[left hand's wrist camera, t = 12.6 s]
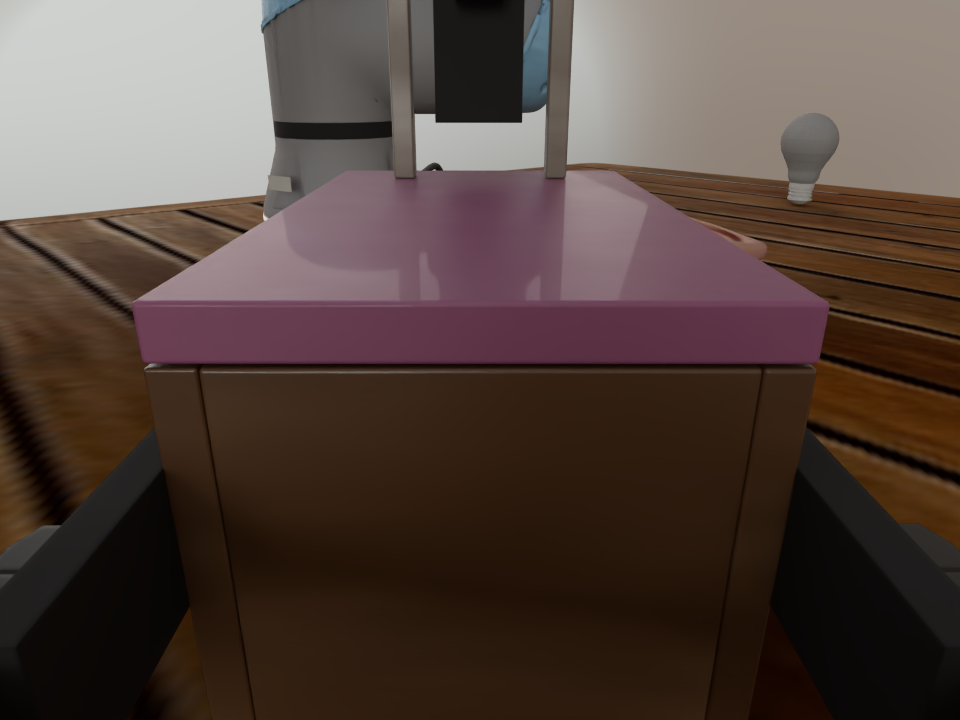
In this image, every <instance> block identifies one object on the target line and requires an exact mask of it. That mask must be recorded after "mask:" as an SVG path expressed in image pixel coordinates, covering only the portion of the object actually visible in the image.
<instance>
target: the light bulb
mask: <svg viewBox="0 0 960 720" xmlns="http://www.w3.org/2000/svg"><path fill="white" fill-rule="evenodd" d="M838 143H839V132H838V129H837V127H836V125H835V124H834V122H833V121H832V120H831V119H830V118H829V117H827V116H825V115H822V114H818V113H810V114H805V115H802V116H800V117H798V118H796V119H795V120H793V121H792V122H791V123H790V124H789V125H788V126H787V128H786V129H785V131H784V133H783V135H782V137H781V151H782V153H783V156H784V159H785V161H786V164H787V167H788V178H789V181H790V185H789V187H790V189H789V190H790V192H788V194H790V195H788V197H787V199H788V200H790V201H792V202H793V203H795V204H804V203H806V202H809V201H811V200H812V198H811V196H812V195H811V193H813V192H812V189H814V185H815V182H816V181H817V180H818V178H819V175H820V172H821V170H822V168H823V167H824V165H825V164H826V163H827V162H828V160H829V159H830V158H831V156H832V155H833V154H834V152H835V151H836V148H837V146H838Z"/></svg>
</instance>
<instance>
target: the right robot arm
mask: <svg viewBox="0 0 960 720" xmlns="http://www.w3.org/2000/svg"><path fill="white" fill-rule="evenodd" d="M549 10H550V0H411V21H412V52H413V83H414V113H415V114H435V117H436V123H522V113H529V112H535V111H537V110H539V109H541V108H542V107H543V106H544V105H545V104H546V98H547V69H548V40H549ZM262 16H263V21H262V24H261V31H262V33H263V34H264V42H265V51H266V60H267V69H268V78H269V87H270V96H271V105H272V114H273V122H274V132H275V143H276V147H275V154H274V159H273V164H272V169H271V174H270V175H268V180H269V183H268V188H267V193H266V198H265V203H264V213H263V217H264V221H266V220H267V219H269V218H271V217H272V216H274V215H275V214H277V213H279V212H280V211H282V210H284V209H285V208H287V207H288V206H290V205H292V204H293V203H295V202H297V201H298V200H300V199H302V198H303V197H305V196H306V195H308V194H310V193H311V192H313V191H315V190H316V189H318V188H319V187H321V186H323V185H324V184H326V183H328V182H329V181H331V180H332V179H334V178H336V177H337V176H339V175H341V174H342V173H344V172H346V171H394V157H393V134H392V111H391V89H390V66H389V43H388V21H387V0H262ZM434 169H436V171H443V169H442V168H441V166H440V165H439V164H437V163H432V164H430V165H428V166H427V167H426V168H424V169H423V170H422V171H432V170H434Z"/></svg>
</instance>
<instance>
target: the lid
mask: <svg viewBox="0 0 960 720" xmlns="http://www.w3.org/2000/svg"><path fill="white" fill-rule="evenodd" d="M573 11H574V0H550V10H549V40H548V69H547V98H546V128H545V157H544V171H416V144H415V113H414V83H413V52H412V21H411V0H387V21H388V43H389V66H390V89H391V111H392V134H393V157H394V171H346V172H344V173H342V174H341V175H339V176H337V177H336V178H334V179H332V180H331V181H329V182H328V183H326V184H324V185H323V186H321V187H319V188H318V189H316V190H315V191H313V192H311V193H310V194H308V195H306V196H305V197H303V198H302V199H300V200H298V201H297V202H295V203H293V204H292V205H290V206H288V207H287V208H285V209H284V210H282V211H280V212H279V213H277V214H275V215H274V216H272V217H271V218H269V219H267V220H266V221H264V222H262V223H261V224H259V225H258V226H256V227H254V228H253V229H251V230H249V231H248V232H246V233H245V234H243V235H241V236H240V237H238V238H236V239H235V240H233V241H231V242H230V243H228V244H227V245H225V246H223V247H222V248H220V249H218V250H217V251H215V252H214V253H212V254H210V255H209V256H207V257H205V258H204V259H202V260H201V261H199V262H197V263H196V264H194V265H192V266H191V267H189V268H187V269H186V270H184V271H183V272H181V273H179V274H178V275H176V276H174V277H173V278H171V279H170V280H168V281H166V282H165V283H163V284H161V285H160V286H158V287H157V288H155V289H153V290H152V291H150V292H148V293H147V294H145V295H143V296H142V297H140V298H139V299H137V300H135V301H134V302H133V303H132V310H133V315H134V320H135V325H136V330H137V335H138V340H139V346H140V351H141V356H142V360H143V362H144V363H147V364H816V363H818V361H819V357H820V352H821V347H822V342H823V337H824V332H825V327H826V322H827V317H828V311H829V303H828V302H827V301H825V300H824V299H822V298H820V297H819V296H817V295H816V294H814V293H812V292H811V291H809V290H807V289H806V288H804V287H802V286H801V285H799V284H798V283H796V282H794V281H793V280H791V279H789V278H788V277H786V276H784V275H783V274H781V273H780V272H778V271H776V270H775V269H773V268H771V267H770V266H768V265H767V264H765V263H763V262H762V261H760V260H758V259H757V258H755V257H753V256H752V255H750V254H749V253H747V252H745V251H744V250H742V249H740V248H739V247H737V246H735V245H734V244H732V243H731V242H729V241H727V240H726V239H724V238H722V237H721V236H719V235H717V234H716V233H714V232H713V231H711V230H709V229H708V228H706V227H704V226H703V225H701V224H700V223H698V222H696V221H695V220H693V219H691V218H690V217H688V216H686V215H685V214H683V213H682V212H680V211H678V210H677V209H675V208H673V207H672V206H670V205H668V204H667V203H665V202H664V201H662V200H660V199H659V198H657V197H655V196H654V195H652V194H650V193H649V192H647V191H646V190H644V189H642V188H641V187H639V186H637V185H636V184H634V183H633V182H631V181H629V180H628V179H626V178H624V177H623V176H621V175H619V174H618V173H616V172H615V171H566V165H567V143H568V121H569V99H570V77H571V56H572V34H573Z"/></svg>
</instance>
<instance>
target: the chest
mask: <svg viewBox="0 0 960 720" xmlns="http://www.w3.org/2000/svg"><path fill="white" fill-rule="evenodd" d="M144 375H145V380H146V385H147V390H148V395H149V401H150V406H151V411H152V416H153V421H154V426H155V431H156V436H157V441H158V447H159V452H160V457H161V462H162V467H163V470H164V475H165V480H166V485H167V490H168V495H169V500H170V505H171V511H172V516H173V521H174V526H175V531H176V536H177V541H178V546H179V551H180V556H181V561H182V567H183V572H184V577H185V582H186V587H187V592H188V597H189V602H190V610H191V615H192V620H193V625H194V630H195V635H196V640H197V645H198V651H199V656H200V661H201V666H202V671H203V676H204V681H205V686H206V691H207V697H208V702H209V707H210V712H211V717H212V720H748V717H749V712H750V707H751V702H752V697H753V692H754V687H755V681H756V676H757V671H758V666H759V661H760V656H761V651H762V646H763V641H764V636H765V631H766V626H767V621H768V616H769V611H770V606H771V605H770V604H771V599H772V594H773V589H774V584H775V579H776V574H777V569H778V564H779V559H780V554H781V549H782V543H783V538H784V533H785V528H786V523H787V518H788V513H789V508H790V503H791V498H792V493H793V488H794V482H795V477H796V472H797V468H798V464H799V459H800V454H801V449H802V444H803V439H804V434H805V429H806V423H807V418H808V413H809V408H810V403H811V398H812V393H813V388H814V383H815V378H816V369H815V368H814V367H813V366H812V365H810V364H149V365H148V366H147V367H146V368H145V369H144Z"/></svg>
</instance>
